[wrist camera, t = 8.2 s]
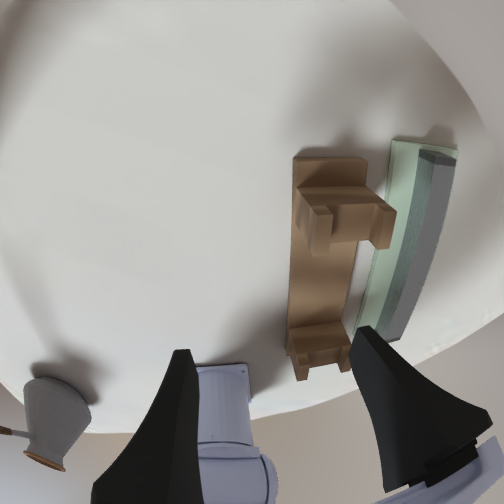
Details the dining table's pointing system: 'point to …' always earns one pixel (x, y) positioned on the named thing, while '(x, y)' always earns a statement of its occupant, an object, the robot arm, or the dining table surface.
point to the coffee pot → (51, 420)
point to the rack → (328, 255)
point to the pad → (400, 200)
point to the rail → (417, 241)
